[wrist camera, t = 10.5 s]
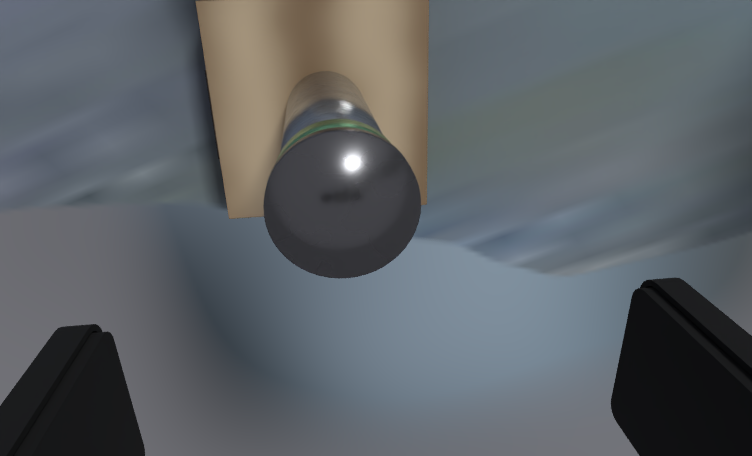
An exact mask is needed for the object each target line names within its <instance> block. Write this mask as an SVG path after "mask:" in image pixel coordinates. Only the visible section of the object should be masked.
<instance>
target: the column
mask: <svg viewBox="0 0 752 456" xmlns="http://www.w3.org/2000/svg"><path fill="white" fill-rule="evenodd" d="M263 207H264V218H265V222H266V227H267V229H268V232H269V235H270V236H271V238H272V241H273V242H274V244H275V245H276V247H277V248H278V249H279V251H280V252H281V253H282V254H283V255H284V256H285V257H286V258H287V259H288V260H290V261H291V262H292V263H293V264H295V265H297V266H298V267H300V268H301V269H304V270H306V271H308V272H310V273H313V274H316V275H319V276H324V277H329V278H351V277H358V276H362V275H365V274H368V273H371V272H374V271H376V270H378V269H380V268H382V267H384V266H385V265H387V264H388V263H389V262H391V261H392V260H393V259H395V258H396V257H397V256H398V255H399V254H400V253H401V252H402V251H403V250H404V249H405V248H406V246H407V244H408V243H409V242H410V240H411V239H412V237H413V235H414V233H415V231H416V228H417V225H418V222H419V218H420V213H421V194H420V189H419V184H418V182H417V179H416V176H415V174H414V172H413V170H412V168H411V167H410V165H409V163H408V162H407V160H406V159H405V157H404V156H403V155H402V153H401V152H400V151H399V150H398V149H397V148H396V147H395V146H394V145H392V144H391V142H390V141H389V140H388V139H387V138H386V137H385V136H384V135H383V134H382V132H381V130H380V128H379V126H378V124H377V122H376V120H375V119H374V117H373V115H372V113H371V111H370V109H369V107H368V105H367V103H366V101H365V100H364V98H363V96H362V94H361V92H360V90H359V89H358V87H357V86H356V85H355V84H354V83H353V82H352V81H351V80H350V79H349V78H347V77H346V76H344V75H342V74H339V73H336V72H331V71H320V72H315V73H312V74H310V75H307V76H306V77H304V78H303V79H301V80H300V81H299V82H298V83H297V84H296V85H295V87H294V88H293V89H292V91H291V93H290V96H289V98H288V102H287V109H286V116H285V123H284V130H283V137H282V144H281V152H280V154H279V156H278V158H277V161H276V163H275V165H274V167H273V169H272V170H271V173H270V175H269V178H268V181H267V185H266V189H265V195H264V205H263Z"/></svg>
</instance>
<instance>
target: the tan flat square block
mask: <svg viewBox="0 0 752 456" xmlns="http://www.w3.org/2000/svg"><path fill="white" fill-rule="evenodd" d="M196 7H197V14H198V20H199V27H200V33H201V40H202V46H203V53H204V59H205V66H206V70H205V75H206V81H207V88H208V94H209V101H210V107H211V114H212V120H213V126H214V133H215V139H216V146H217V152H218V159H220V163H221V170H222V176H223V183H224V189H225V196H226V202H227V209H228V215H229V219H235V218H249V217H262V216H264V207H263V205H264V195H265V189H266V185H267V181H268V178H269V175H270V173H271V170H272V169H273V167H274V165H275V163H276V161H277V158H278V156H279V154H280V152H281V144H282V137H283V130H284V123H285V116H286V109H287V102H288V98H289V96H290V93H291V91H292V89H293V88H294V87H295V85H296V84H297V83H298V82H299V81H300V80H301V79H303V78H304V77H306V76H307V75H310V74H312V73H315V72H320V71H331V72H336V73H339V74H342V75H344V76H346V77H347V78H349V79H350V80H351V81H352V82H353V83H354V84H355V85H356V86H357V87H358V89H359V90H360V92H361V94H362V96H363V98H364V100H365V101H366V103H367V105H368V107H369V109H370V111H371V113H372V115H373V117H374V119H375V120H376V122H377V124H378V126H379V128H380V130H381V132H382V134H383V135H384V136H385V137H386V138H387V139H388V140H389V141H390V142H391V144H392V145H394V146H395V147H396V148H397V149H398V150H399V151H400V152H401V153H402V155H403V156H404V157H405V159H406V160H407V162H408V163H409V165H410V167H411V168H412V170H413V172H414V174H415V176H416V179H417V182H418V184H419V189H420V194H421V205H426V204H427V126H428V32H429V0H200V1H196Z"/></svg>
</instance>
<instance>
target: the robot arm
mask: <svg viewBox="0 0 752 456" xmlns="http://www.w3.org/2000/svg"><path fill="white" fill-rule="evenodd" d="M611 409H612V413H613V416H614V418H615V420H616V422H617V423H618V425H619V426H620V428H621V429H622V430H623V432H624V433H625V435H626V436H627V438H628V439H629V441H630V442H631V444H632V445H633V447H634V448H635V449H636V451H637V453H638V454H639V455H640V456H752V336H751V335H750V334H748V333H747V332H746V331H745V330H744V329H742V328H741V327H740V326H738V325H737V324H736V323H735V322H734V321H733V320H731V319H730V318H729V317H728V316H726V315H725V314H724V313H723V312H722V311H720V310H719V309H718V308H717V307H715V306H714V305H713V304H712V303H711V302H709V301H708V300H707V299H706V298H704V297H703V296H702V295H701V294H700V293H698V292H697V291H696V290H695V289H693V288H692V287H691V286H690V285H688V284H687V283H686V282H685V281H684V280H682V279H680V278H666V279H653V280H646V281H644V282H643V283H642V285H641V287H640V288H638V289H636V290H635V291H634V292H633V295H632V299H631V304H630V309H629V314H628V319H627V324H626V329H625V334H624V339H623V344H622V348H621V354H620V358H619V363H618V368H617V373H616V379H615V383H614V388H613V393H612V398H611ZM0 456H145V449H144V444H143V440H142V437H141V434H140V430H139V427H138V423H137V420H136V416H135V412H134V409H133V405H132V402H131V398H130V395H129V391H128V388H127V384H126V381H125V377H124V373H123V370H122V366H121V363H120V360H119V356H118V352H117V349H116V345H115V342H114V339H113V336H112V334H111V333H110V332H102V330H101V328H100V327H99V326H98V325H96V324H91V325H79V326H67V327H60V328H58V329H57V330H56V331H55V332H54V334H53V335H52V336H51V338H50V339H49V340H48V342H47V343H46V345H45V346H44V347H43V348H42V350H41V351H40V352H39V354H38V355H37V357H36V358H35V359H34V361H33V362H32V363H31V365H30V366H29V368H28V369H27V370H26V372H25V373H24V374H23V376H22V377H21V378H20V380H19V381H18V383H17V384H16V385H15V386H14V388H13V389H12V391H11V392H10V394H9V395H8V396H7V397H6V399H5V400H4V401H3V403H2V404H1V406H0Z"/></svg>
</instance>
